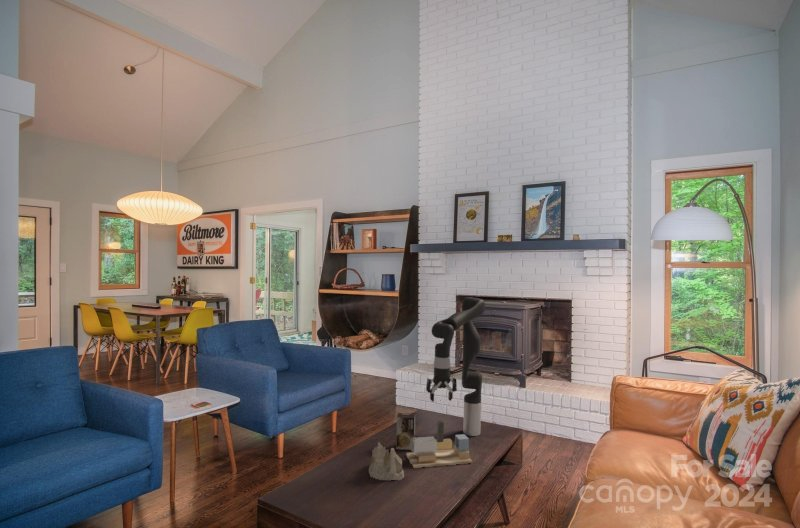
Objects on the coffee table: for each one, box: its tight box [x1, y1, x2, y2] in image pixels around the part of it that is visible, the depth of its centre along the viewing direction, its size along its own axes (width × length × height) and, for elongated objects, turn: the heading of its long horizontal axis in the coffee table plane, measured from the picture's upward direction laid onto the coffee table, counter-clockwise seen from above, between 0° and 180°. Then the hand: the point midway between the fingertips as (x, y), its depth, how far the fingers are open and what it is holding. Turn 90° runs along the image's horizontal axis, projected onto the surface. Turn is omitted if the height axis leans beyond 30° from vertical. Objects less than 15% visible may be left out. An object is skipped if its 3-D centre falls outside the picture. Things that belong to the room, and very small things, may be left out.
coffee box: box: [395, 412, 416, 451], centre depth 225 cm, size 9×6×16 cm
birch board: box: [405, 448, 473, 469], centre depth 212 cm, size 14×28×1 cm, turn 103°
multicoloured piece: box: [435, 420, 453, 450], centre depth 211 cm, size 3×16×12 cm, turn 103°
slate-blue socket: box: [453, 433, 471, 459], centre depth 214 cm, size 8×5×9 cm, turn 13°
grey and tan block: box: [410, 436, 437, 463], centre depth 210 cm, size 10×11×9 cm
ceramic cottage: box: [368, 441, 405, 481], centre depth 199 cm, size 16×16×15 cm
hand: (441, 400), depth 212 cm, fingers open, 8 cm apart
